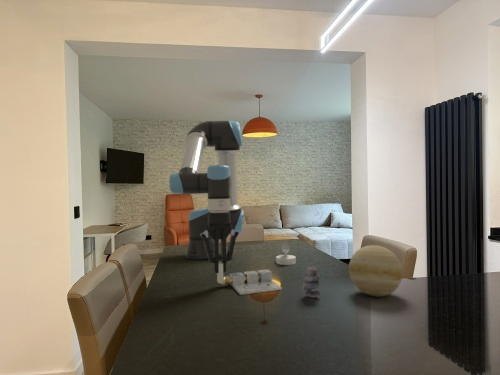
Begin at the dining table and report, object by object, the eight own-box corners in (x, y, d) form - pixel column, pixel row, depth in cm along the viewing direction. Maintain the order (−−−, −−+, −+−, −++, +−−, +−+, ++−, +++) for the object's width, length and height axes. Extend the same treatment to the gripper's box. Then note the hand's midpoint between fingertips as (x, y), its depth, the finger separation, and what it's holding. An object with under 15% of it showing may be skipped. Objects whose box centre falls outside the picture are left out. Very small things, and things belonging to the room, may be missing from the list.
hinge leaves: (224, 278, 117) (224, 268, 117) (260, 274, 122) (259, 264, 122) (240, 295, 99) (239, 282, 99) (281, 289, 103) (281, 277, 103)
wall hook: (275, 243, 135) (275, 239, 145) (275, 265, 135) (276, 260, 145) (296, 243, 135) (295, 239, 144) (296, 265, 134) (295, 260, 144)
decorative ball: (347, 300, 93) (346, 248, 93) (351, 285, 106) (350, 240, 106) (404, 306, 87) (403, 251, 87) (401, 290, 101) (400, 242, 101)
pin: (221, 284, 108) (221, 276, 108) (265, 279, 114) (264, 271, 114) (223, 286, 106) (223, 278, 106) (267, 281, 111) (267, 273, 111)
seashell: (321, 295, 97) (320, 262, 97) (319, 301, 92) (318, 266, 92) (303, 294, 99) (303, 261, 99) (300, 300, 94) (300, 265, 94)
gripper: (201, 213, 101) (202, 287, 101) (241, 211, 105) (242, 283, 105) (197, 211, 108) (198, 281, 108) (234, 210, 113) (235, 277, 113)
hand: (220, 282), depth 107 cm, fingers closed
